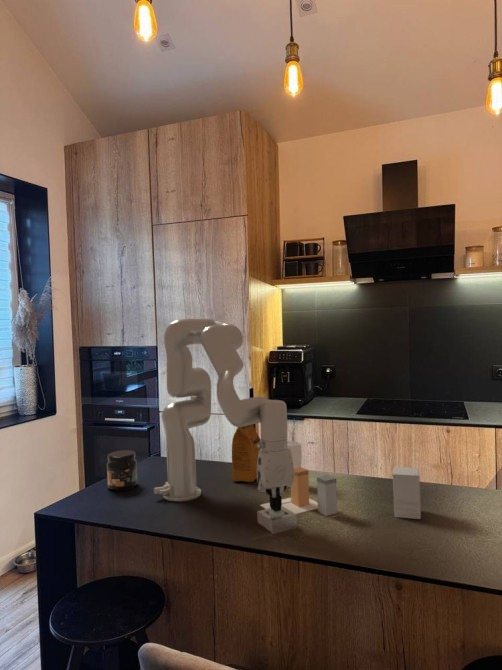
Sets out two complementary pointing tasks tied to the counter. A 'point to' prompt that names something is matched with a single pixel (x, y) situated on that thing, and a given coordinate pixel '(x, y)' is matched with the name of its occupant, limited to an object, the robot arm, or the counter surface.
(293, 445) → the drinking glass
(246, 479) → the coffee package
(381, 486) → the counter surface
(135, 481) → the supplement container
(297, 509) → the sketch pad
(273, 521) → the button collar
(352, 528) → the counter surface
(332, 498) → the grey rectangular prism
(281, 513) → the button
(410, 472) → the supplement box
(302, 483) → the brown box
